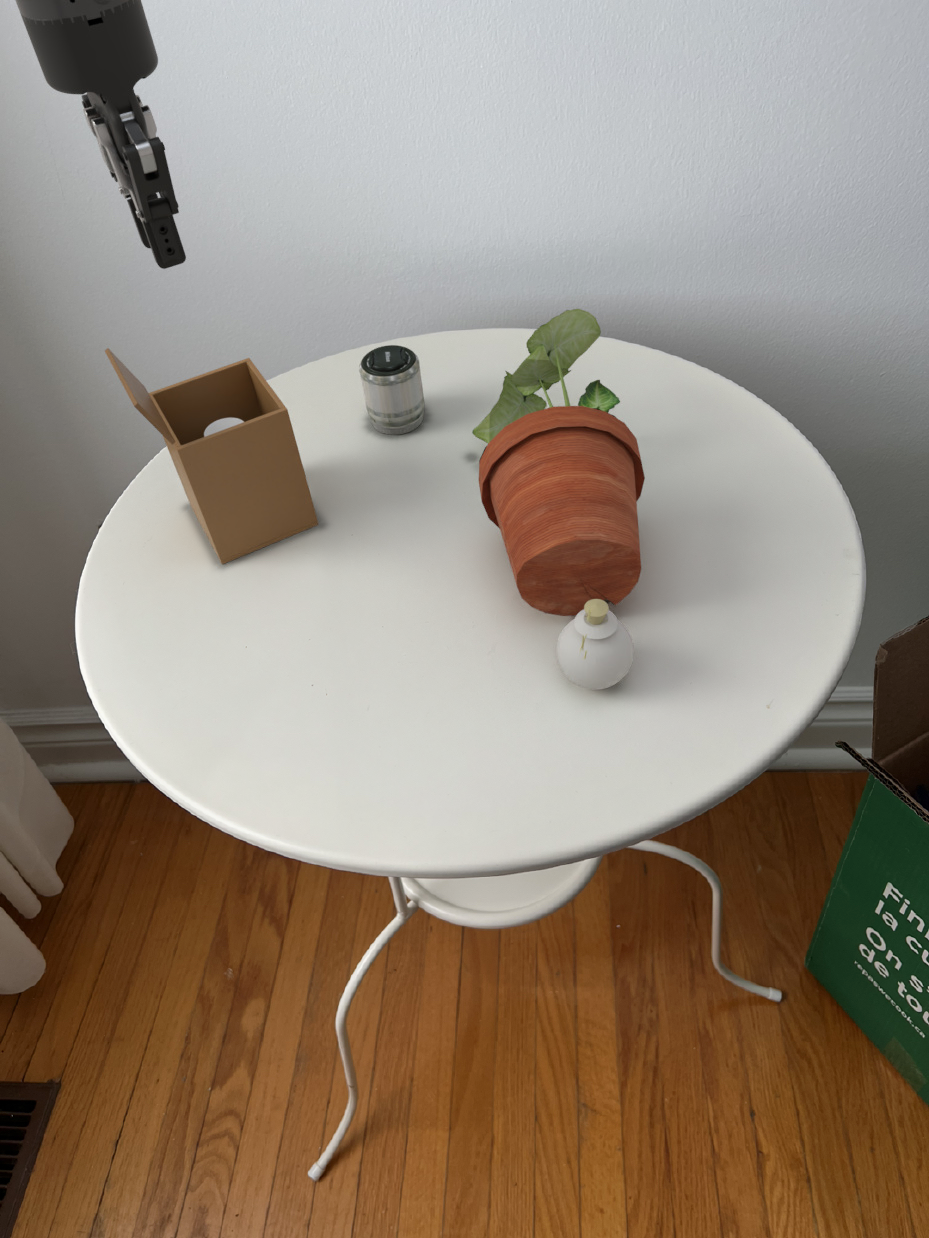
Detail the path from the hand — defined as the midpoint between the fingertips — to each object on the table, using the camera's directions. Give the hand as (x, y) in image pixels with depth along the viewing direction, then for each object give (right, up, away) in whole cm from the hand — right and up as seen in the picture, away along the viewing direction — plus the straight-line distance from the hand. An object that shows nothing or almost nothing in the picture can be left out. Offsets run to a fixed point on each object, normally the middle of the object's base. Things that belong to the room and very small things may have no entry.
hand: (164, 253), depth 71 cm
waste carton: (+2, -18, +20) cm, 27 cm away
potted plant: (+32, -17, +18) cm, 40 cm away
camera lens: (+16, -7, +29) cm, 34 cm away
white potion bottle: (+34, -34, +3) cm, 48 cm away
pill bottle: (+2, -18, +20) cm, 27 cm away
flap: (-4, -9, +6) cm, 12 cm away
